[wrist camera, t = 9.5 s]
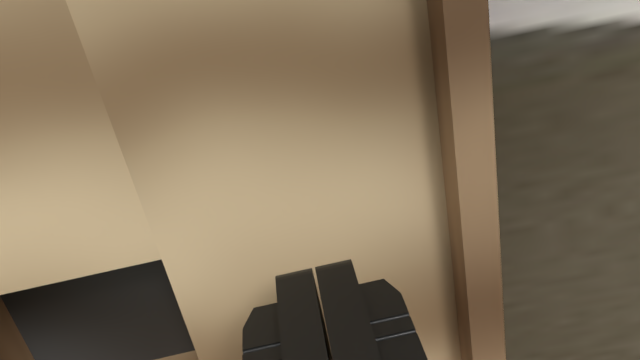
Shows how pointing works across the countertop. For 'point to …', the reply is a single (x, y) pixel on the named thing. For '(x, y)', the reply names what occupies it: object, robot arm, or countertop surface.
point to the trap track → (241, 169)
